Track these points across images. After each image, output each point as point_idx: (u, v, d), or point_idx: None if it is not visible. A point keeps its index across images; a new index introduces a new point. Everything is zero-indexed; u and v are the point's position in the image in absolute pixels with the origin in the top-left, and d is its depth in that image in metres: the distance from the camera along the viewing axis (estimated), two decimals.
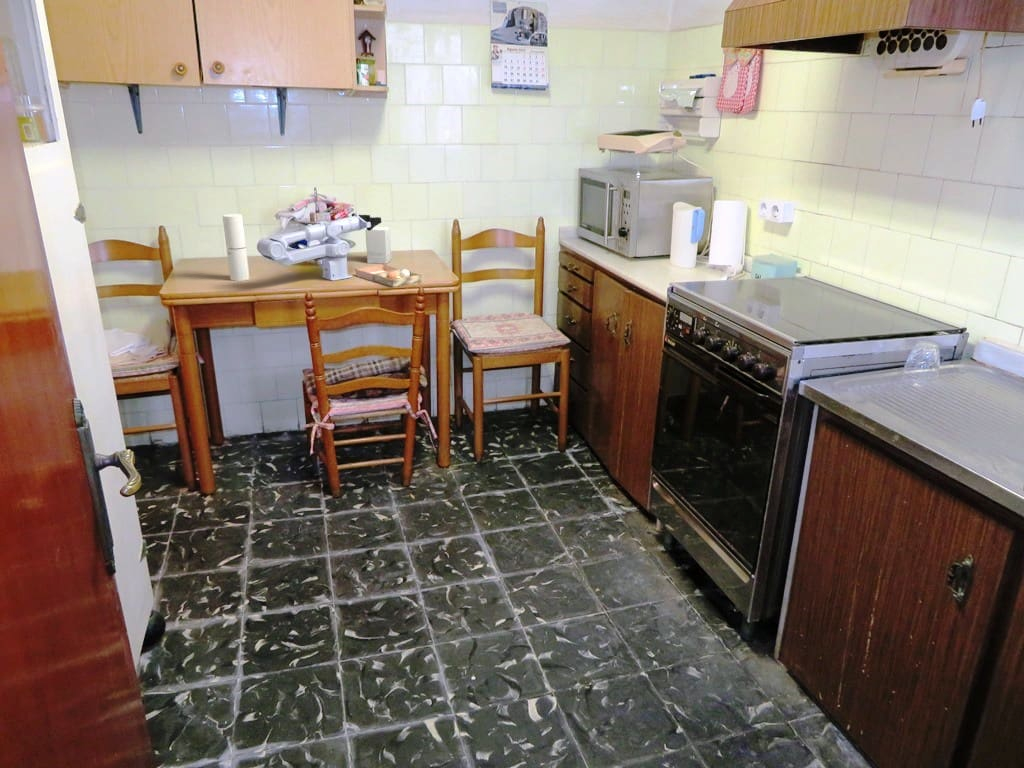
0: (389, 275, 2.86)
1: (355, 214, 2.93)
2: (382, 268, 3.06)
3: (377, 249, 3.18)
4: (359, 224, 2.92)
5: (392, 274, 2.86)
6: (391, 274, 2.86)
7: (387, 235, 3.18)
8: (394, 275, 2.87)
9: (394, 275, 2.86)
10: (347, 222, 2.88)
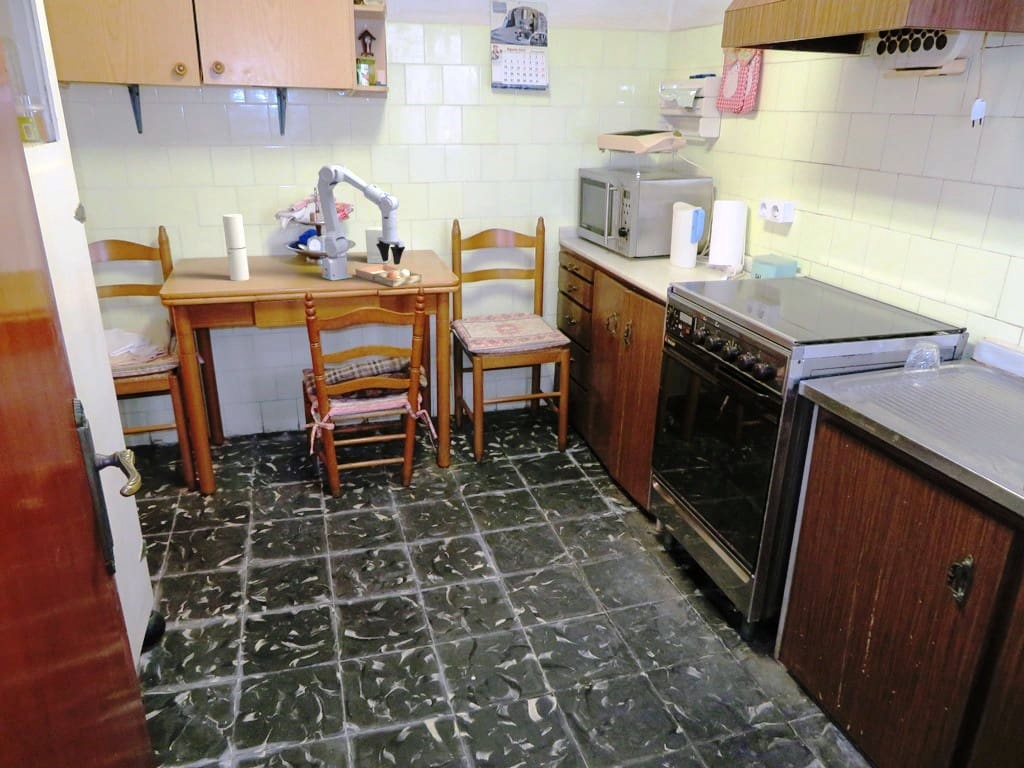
0: (389, 275, 2.86)
1: (397, 238, 2.85)
2: (382, 268, 3.06)
3: (377, 249, 3.18)
4: (394, 239, 2.80)
5: (392, 274, 2.86)
6: (391, 274, 2.86)
7: None
8: (394, 275, 2.87)
9: (394, 275, 2.86)
10: (390, 225, 2.78)
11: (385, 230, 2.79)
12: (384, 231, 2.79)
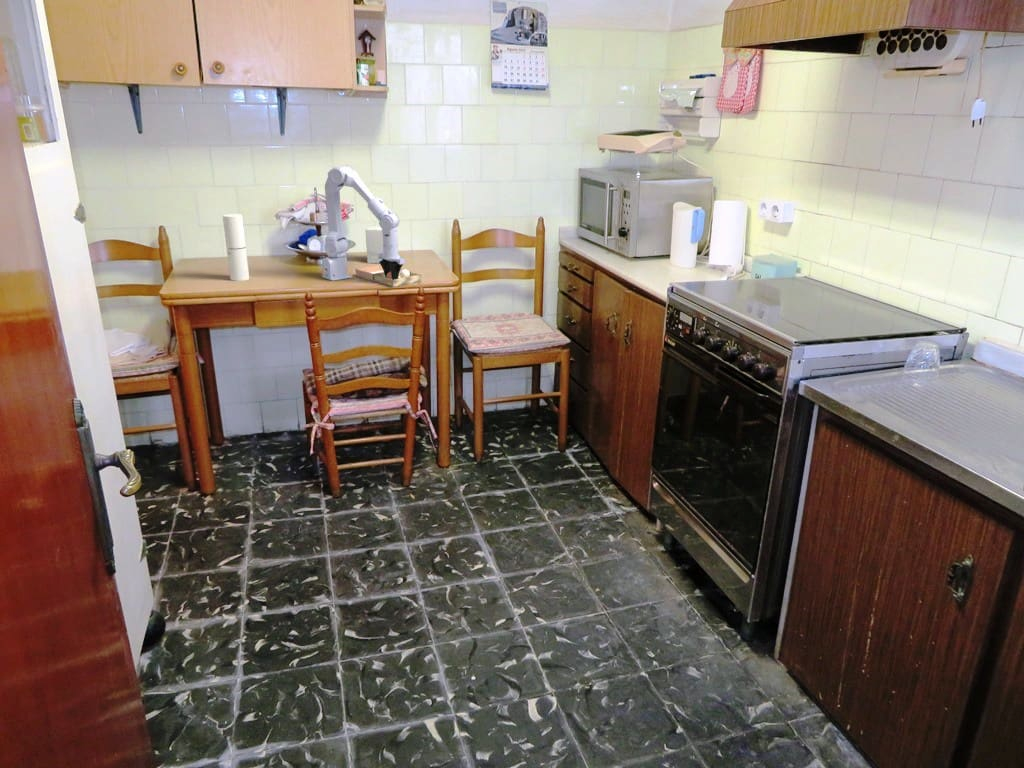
0: (389, 275, 2.86)
1: (398, 255, 2.87)
2: (382, 268, 3.06)
3: (377, 249, 3.18)
4: (394, 256, 2.83)
5: None
6: (391, 274, 2.86)
7: None
8: None
9: None
10: (391, 243, 2.80)
11: (386, 247, 2.81)
12: (385, 248, 2.82)
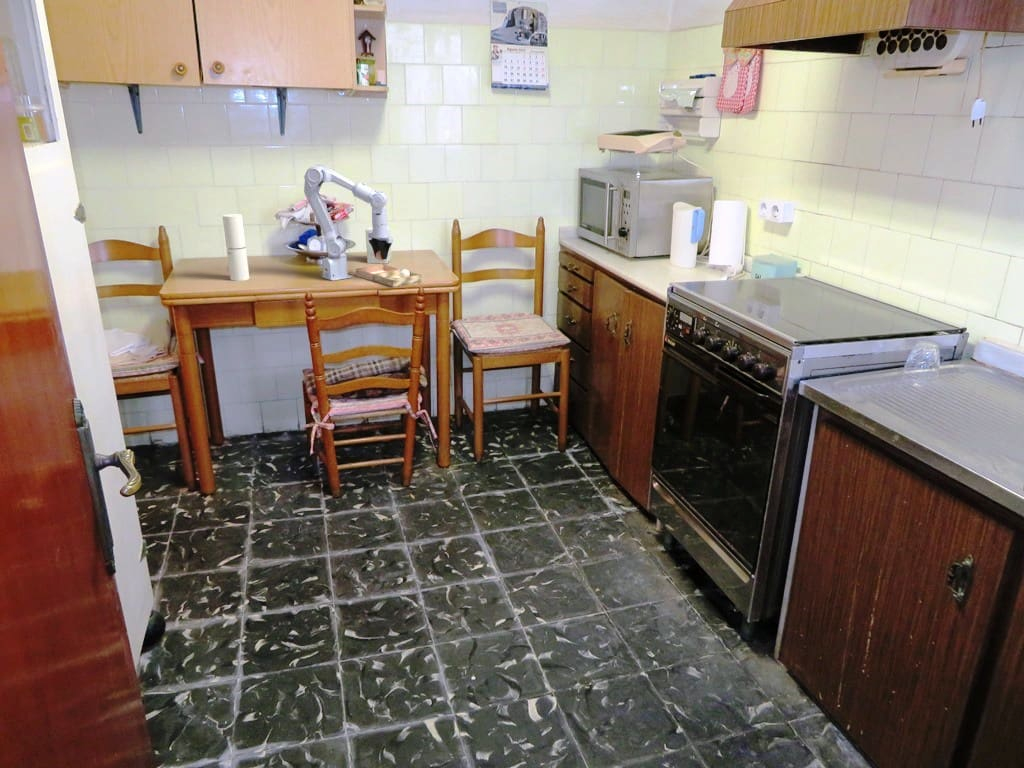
0: (378, 254, 2.90)
1: (387, 234, 2.91)
2: (382, 268, 3.06)
3: None
4: (383, 235, 2.86)
5: None
6: (380, 253, 2.90)
7: None
8: None
9: None
10: (382, 222, 2.84)
11: (375, 226, 2.85)
12: (374, 227, 2.85)
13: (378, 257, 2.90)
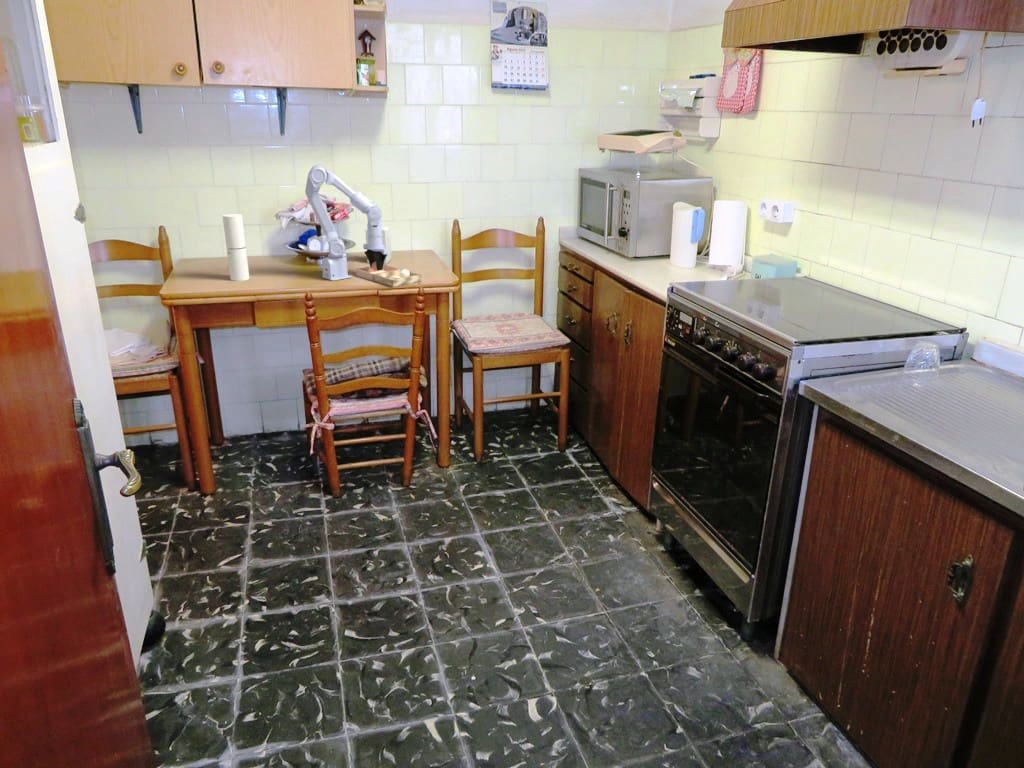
0: (374, 265, 2.95)
1: (382, 245, 2.96)
2: None
3: None
4: (379, 246, 2.92)
5: None
6: None
7: (387, 235, 3.18)
8: None
9: None
10: (379, 233, 2.90)
11: (370, 238, 2.90)
12: (369, 239, 2.91)
13: (374, 268, 2.96)
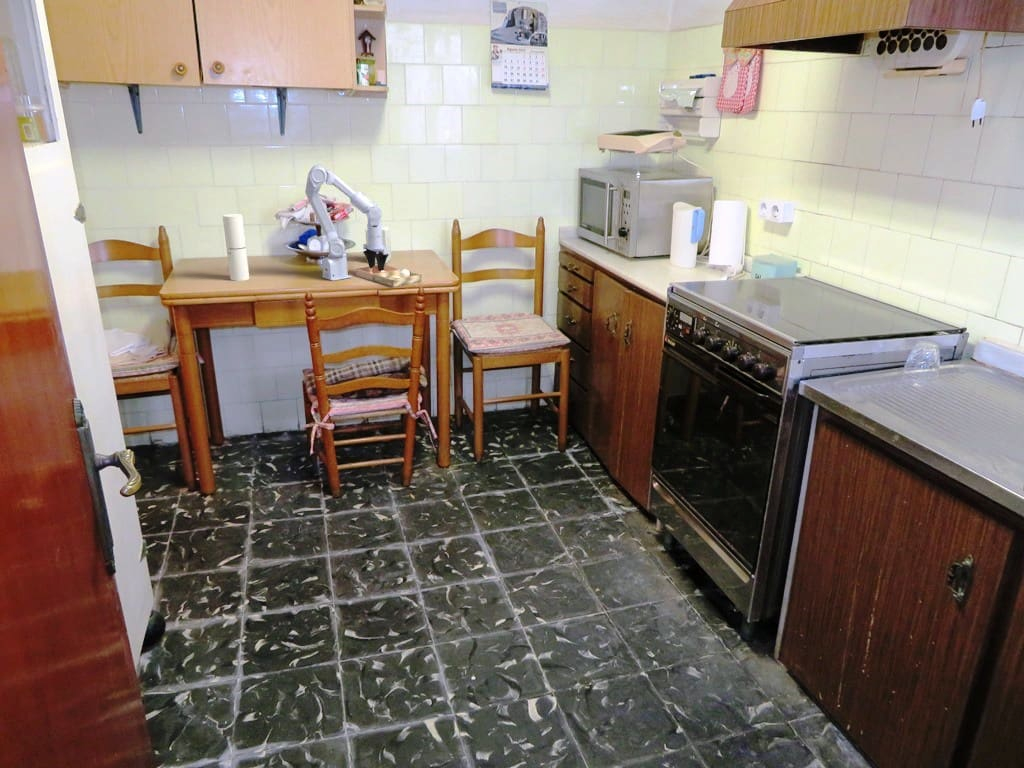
0: (374, 269, 2.96)
1: (382, 245, 2.96)
2: None
3: None
4: (379, 246, 2.92)
5: (377, 268, 2.96)
6: (376, 268, 2.96)
7: (387, 235, 3.18)
8: None
9: None
10: (379, 233, 2.90)
11: (370, 238, 2.90)
12: (369, 239, 2.91)
13: (374, 272, 2.96)
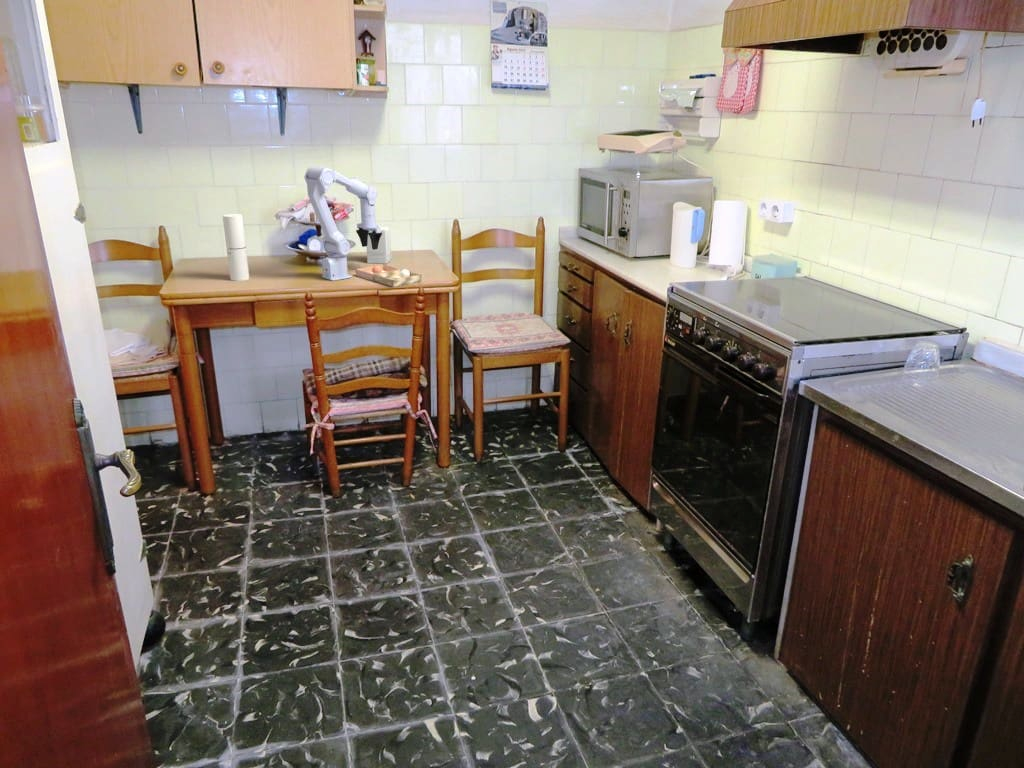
0: (374, 269, 2.96)
1: (375, 225, 3.04)
2: (382, 268, 3.06)
3: (377, 249, 3.18)
4: (372, 225, 3.00)
5: (377, 268, 2.96)
6: (376, 268, 2.96)
7: (387, 235, 3.18)
8: (379, 269, 2.96)
9: (379, 269, 2.96)
10: (374, 212, 3.00)
11: (363, 217, 2.98)
12: (363, 218, 2.99)
13: (374, 272, 2.96)
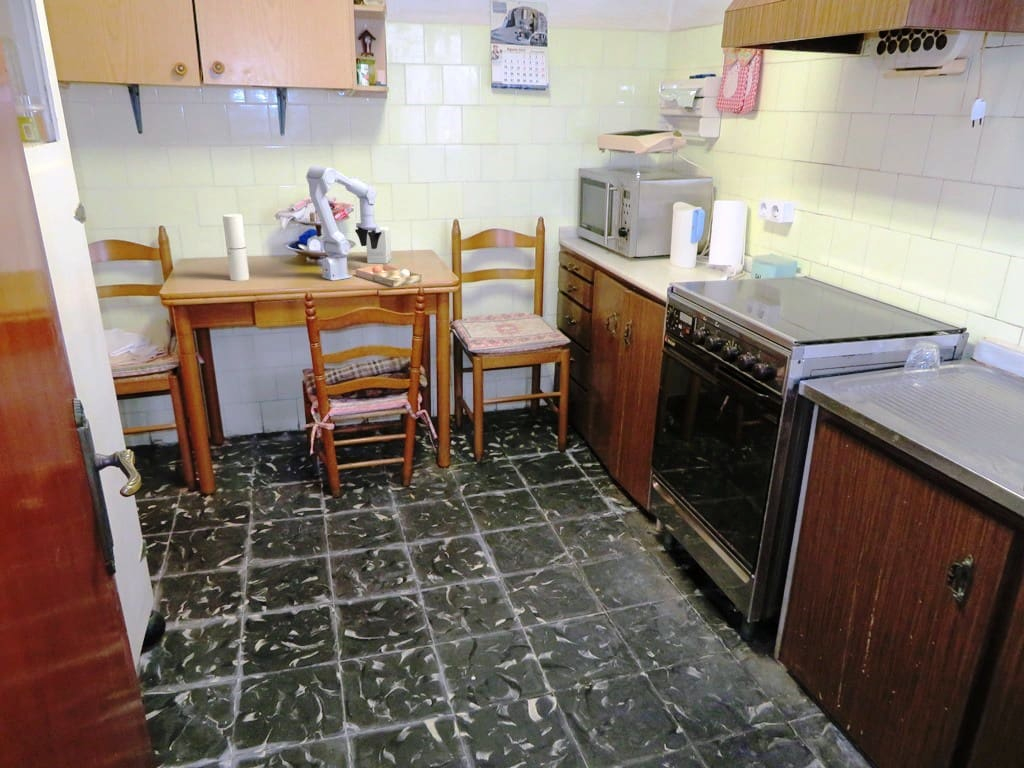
0: (374, 269, 2.96)
1: (374, 224, 3.05)
2: (382, 268, 3.06)
3: (377, 249, 3.18)
4: (371, 225, 3.01)
5: (377, 268, 2.96)
6: (376, 268, 2.96)
7: (387, 235, 3.18)
8: (379, 269, 2.96)
9: (379, 269, 2.96)
10: None
11: (363, 216, 2.99)
12: (362, 217, 3.00)
13: (374, 272, 2.96)
